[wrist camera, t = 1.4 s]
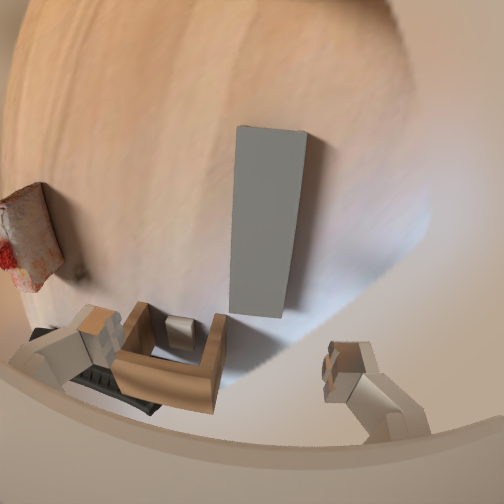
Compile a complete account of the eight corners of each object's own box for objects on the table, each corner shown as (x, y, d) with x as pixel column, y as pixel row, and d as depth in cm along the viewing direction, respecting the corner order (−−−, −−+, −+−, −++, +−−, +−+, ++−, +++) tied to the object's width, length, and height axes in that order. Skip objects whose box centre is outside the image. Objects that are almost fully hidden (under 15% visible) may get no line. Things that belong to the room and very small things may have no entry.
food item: (73, 267, 35) (34, 307, 27) (41, 267, 36) (5, 302, 28) (46, 178, 29) (-6, 204, 20) (16, 188, 30) (-30, 213, 21)
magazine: (185, 409, 34) (8, 390, 27) (186, 419, 35) (17, 401, 28) (181, 326, 48) (36, 321, 41) (182, 339, 50) (41, 333, 43)
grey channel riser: (241, 125, 25) (236, 126, 22) (304, 130, 25) (307, 132, 22) (232, 297, 35) (228, 312, 32) (281, 302, 34) (281, 318, 32)
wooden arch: (138, 301, 37) (104, 355, 27) (226, 315, 36) (210, 379, 27) (147, 341, 40) (122, 393, 31) (225, 355, 40) (213, 414, 30)
